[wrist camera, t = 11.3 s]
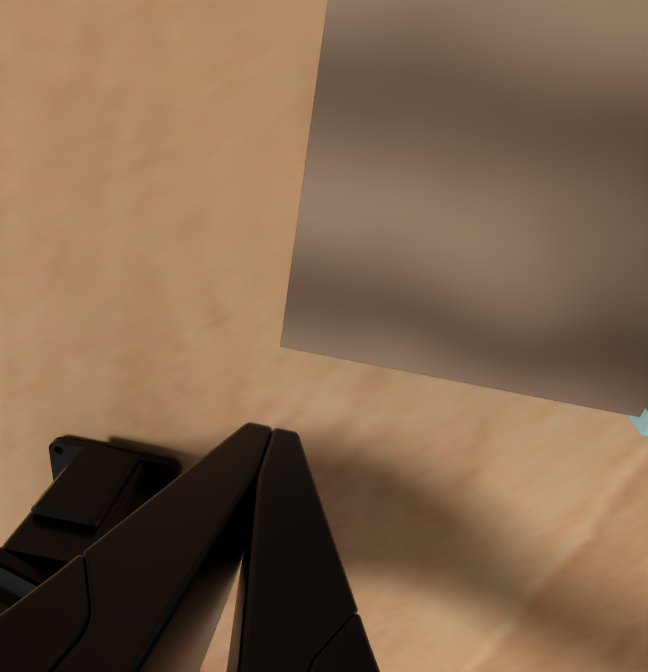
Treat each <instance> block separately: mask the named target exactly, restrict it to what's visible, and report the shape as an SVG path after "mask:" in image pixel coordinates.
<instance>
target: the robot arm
mask: <svg viewBox="0 0 648 672" xmlns="http://www.w3.org/2000/svg"><path fill="white" fill-rule="evenodd" d="M49 453H50V460H51V467H52V474H53V483H52V484H51V485H50V486H49V487H48V489H47V490H46V491H45V492H44V493H43V495H42V496H41V497H40V498H39V499H38V501H37V502H36V503H35V504H34V506H33V507H32V509H31V512H30V513H29V514H28V515H27V517H26V518H25V519H24V520H23V522H22V523H21V524H20V525H19V526H18V528H17V529H16V530H15V531H14V533H13V534H12V535H11V536H10V537H9V539H8V540H7V541H6V542H5V543H4V545H3V546H2V547H0V672H199V671H200V668H201V666H202V663H203V660H204V658H205V655H206V653H207V650H208V648H209V645H210V642H211V640H212V637H213V635H214V632H215V630H216V627H217V624H218V622H219V619H220V617H221V614H222V612H223V609H224V607H225V604H226V601H227V599H228V596H229V594H230V591H231V589H232V586H233V583H234V581H235V578H236V575H237V572H238V570H239V567H240V564H241V560H242V565H241V571H240V577H239V583H238V591H237V598H236V606H235V613H234V621H233V628H232V636H231V643H230V651H229V658H228V666H227V672H380V670H379V668H378V665H377V662H376V660H375V657H374V654H373V652H372V649H371V646H370V643H369V640H368V637H367V635H366V632H365V629H364V626H363V623H362V620H361V617H360V615H358V614H357V611H358V609H357V606H356V603H355V600H354V597H353V594H352V591H351V588H350V585H349V582H348V579H347V576H346V573H345V570H344V567H343V564H342V561H341V559H340V556H339V553H338V550H337V547H336V544H335V541H334V538H333V535H332V532H331V529H330V526H329V523H328V520H327V517H326V514H325V511H324V508H323V505H322V502H321V499H320V496H319V494H318V491H317V488H316V485H315V482H314V479H313V476H312V473H311V470H310V467H309V464H308V461H307V458H306V455H305V452H304V449H303V446H302V443H301V440H300V437H299V435H298V434H297V433H296V432H293V431H289V430H284V429H279V428H275V429H274V430H273V431H272V429H271V428H270V427H269V426H265V425H261V424H256V423H252V422H249V423H246V424H245V425H243V426H242V427H241V428H240V429H238V430H237V431H236V432H234V433H233V434H232V435H231V436H229V437H228V438H227V439H226V440H224V441H223V442H222V443H221V444H219V445H218V446H217V447H215V448H214V449H213V450H212V451H210V452H209V453H208V454H207V455H205V456H204V457H203V458H201V459H200V460H199V461H198V462H196V463H195V464H194V465H193V466H191V467H190V468H189V469H188V470H186V471H185V472H184V473H182V467H181V465H180V463H179V462H177V461H176V460H173V459H169V458H164V457H159V456H154V455H149V454H144V453H139V452H134V451H129V450H124V449H119V448H114V447H109V446H104V445H99V444H94V443H89V442H84V441H79V440H74V439H69V438H64V437H58V438H56V439H55V440H54V441H53V442H52V443H51V444H50V445H49ZM169 469H171V470H169ZM242 557H243V559H242Z"/></svg>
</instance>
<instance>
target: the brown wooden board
mask: <svg viewBox="0 0 648 672" xmlns="http://www.w3.org/2000/svg"><path fill="white" fill-rule="evenodd" d="M280 347H283V348H288V349H294V350H299V351H304V352H309V353H314V354H319V355H324V356H329V357H334V358H340V359H345V360H350V361H355V362H360V363H365V364H370V365H375V366H380V367H385V368H391V369H396V370H401V371H406V372H411V373H416V374H421V375H426V376H431V377H437V378H442V379H447V380H452V381H457V382H462V383H467V384H472V385H477V386H482V387H488V388H493V389H498V390H503V391H508V392H513V393H518V394H523V395H528V396H534V397H539V398H544V399H549V400H554V401H559V402H564V403H569V404H574V405H579V406H585V407H590V408H595V409H600V410H605V411H610V412H615V413H620V414H625V415H631V416H636V417H640V416H641V415H642V413H643V411H644V410H645V408H646V406H647V405H648V0H328V2H327V9H326V16H325V23H324V31H323V38H322V45H321V52H320V60H319V67H318V74H317V81H316V89H315V96H314V103H313V111H312V118H311V125H310V132H309V140H308V147H307V154H306V161H305V169H304V176H303V183H302V191H301V198H300V205H299V212H298V220H297V227H296V234H295V241H294V249H293V256H292V263H291V271H290V278H289V285H288V292H287V300H286V307H285V314H284V321H283V329H282V336H281V343H280Z"/></svg>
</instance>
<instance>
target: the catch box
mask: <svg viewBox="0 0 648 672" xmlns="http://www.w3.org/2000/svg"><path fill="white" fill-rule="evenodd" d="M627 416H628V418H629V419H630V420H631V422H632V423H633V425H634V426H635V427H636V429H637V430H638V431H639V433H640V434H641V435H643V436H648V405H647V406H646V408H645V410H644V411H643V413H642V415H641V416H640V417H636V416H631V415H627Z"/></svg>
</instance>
